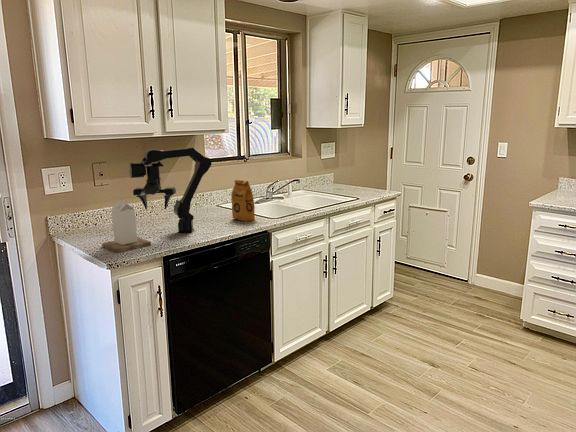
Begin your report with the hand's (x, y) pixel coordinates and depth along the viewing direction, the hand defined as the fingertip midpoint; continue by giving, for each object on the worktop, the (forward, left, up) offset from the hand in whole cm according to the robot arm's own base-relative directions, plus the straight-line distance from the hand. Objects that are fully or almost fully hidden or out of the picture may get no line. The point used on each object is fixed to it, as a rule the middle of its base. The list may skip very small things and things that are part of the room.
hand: (156, 209), depth 207 cm
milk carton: (+9, +17, -12) cm, 22 cm away
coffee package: (-38, -32, -13) cm, 51 cm away
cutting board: (+9, +17, -13) cm, 23 cm away
